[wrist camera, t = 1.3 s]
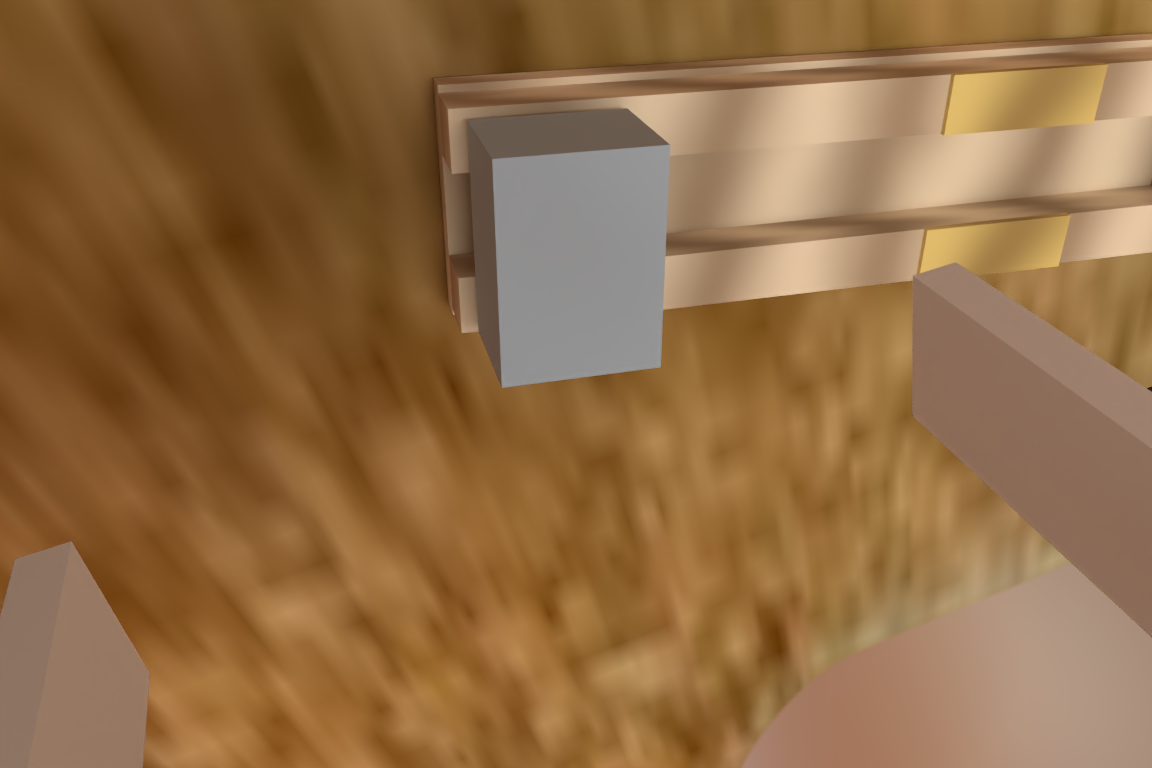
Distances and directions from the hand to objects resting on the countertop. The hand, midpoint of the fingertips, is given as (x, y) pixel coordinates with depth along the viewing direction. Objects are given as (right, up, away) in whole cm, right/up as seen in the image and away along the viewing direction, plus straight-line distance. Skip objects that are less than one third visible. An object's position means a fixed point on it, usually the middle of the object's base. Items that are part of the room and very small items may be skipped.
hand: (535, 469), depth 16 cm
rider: (-1, +7, +19) cm, 20 cm away
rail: (+11, +10, +23) cm, 27 cm away
